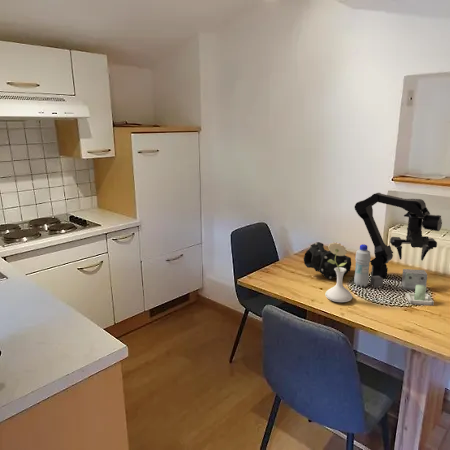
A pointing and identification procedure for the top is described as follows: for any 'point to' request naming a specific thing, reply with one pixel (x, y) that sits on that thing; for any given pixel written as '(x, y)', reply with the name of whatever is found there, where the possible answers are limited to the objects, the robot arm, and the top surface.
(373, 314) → the top surface
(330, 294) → the flower in vase
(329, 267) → the valve
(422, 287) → the pale green rounded cylinder
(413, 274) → the block
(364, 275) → the bottle
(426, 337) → the top surface
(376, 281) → the grey block
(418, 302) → the tray
